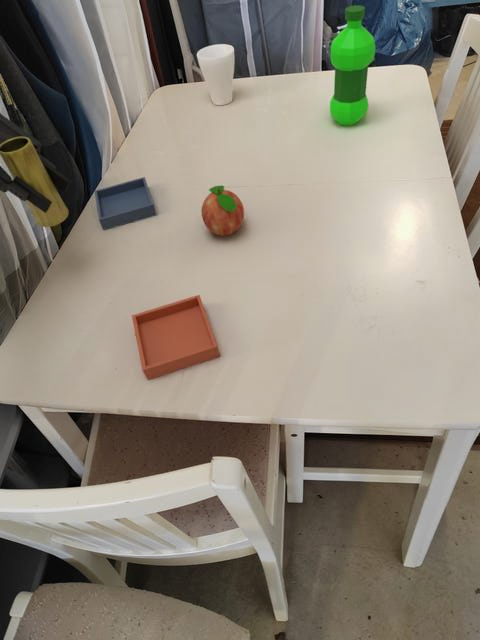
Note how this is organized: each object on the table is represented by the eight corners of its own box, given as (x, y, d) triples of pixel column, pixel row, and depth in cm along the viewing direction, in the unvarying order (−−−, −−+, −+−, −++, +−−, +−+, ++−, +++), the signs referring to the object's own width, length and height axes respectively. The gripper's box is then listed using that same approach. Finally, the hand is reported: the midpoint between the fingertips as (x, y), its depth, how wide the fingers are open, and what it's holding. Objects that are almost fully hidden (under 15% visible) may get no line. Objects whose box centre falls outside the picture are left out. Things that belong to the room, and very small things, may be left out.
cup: (219, 112, 128) (211, 62, 117) (198, 103, 134) (189, 53, 123) (247, 98, 131) (241, 48, 121) (225, 90, 137) (218, 41, 127)
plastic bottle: (328, 131, 113) (332, 19, 94) (328, 112, 120) (331, 3, 101) (368, 129, 112) (380, 14, 93) (366, 110, 118) (377, -2, 99)
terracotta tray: (147, 380, 71) (142, 370, 69) (136, 325, 79) (131, 315, 76) (220, 356, 72) (217, 346, 70) (202, 305, 80) (199, 294, 78)
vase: (59, 228, 79) (19, 154, 68) (29, 226, 80) (-14, 154, 70) (74, 208, 83) (39, 134, 72) (46, 206, 84) (8, 134, 73)
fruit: (211, 248, 89) (201, 207, 82) (201, 221, 96) (191, 181, 88) (251, 237, 90) (246, 195, 83) (239, 211, 96) (233, 170, 89)
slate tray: (103, 230, 98) (98, 220, 96) (98, 200, 106) (94, 190, 104) (156, 214, 99) (153, 204, 97) (147, 187, 107) (144, 176, 105)
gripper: (-39, 90, 77) (78, 179, 85) (-121, 145, 66) (22, 241, 74) (-33, 57, 72) (91, 155, 80) (-121, 110, 61) (33, 218, 69)
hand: (58, 196), depth 77 cm, fingers closed on vase, 5 cm apart
